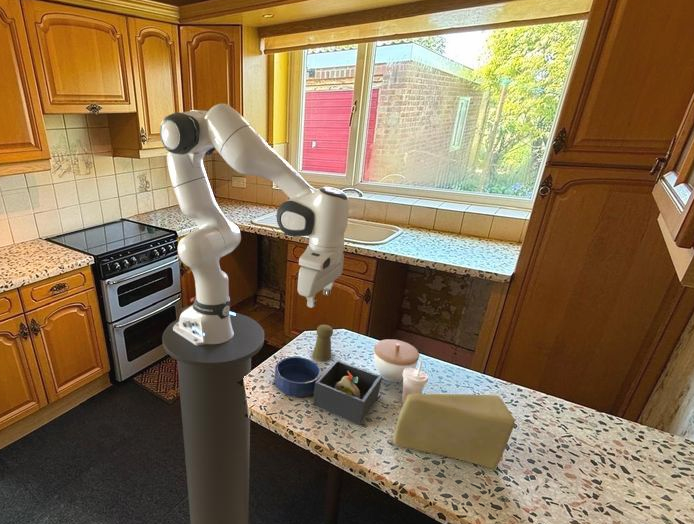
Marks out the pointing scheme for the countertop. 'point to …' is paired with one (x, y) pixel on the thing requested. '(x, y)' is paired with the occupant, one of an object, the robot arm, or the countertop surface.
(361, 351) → the countertop surface
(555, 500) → the countertop surface
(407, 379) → the smoothie
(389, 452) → the countertop surface
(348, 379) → the rattle
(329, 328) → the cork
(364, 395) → the bin
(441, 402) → the cheese
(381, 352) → the lidded bowl
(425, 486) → the countertop surface
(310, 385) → the toy bowl
